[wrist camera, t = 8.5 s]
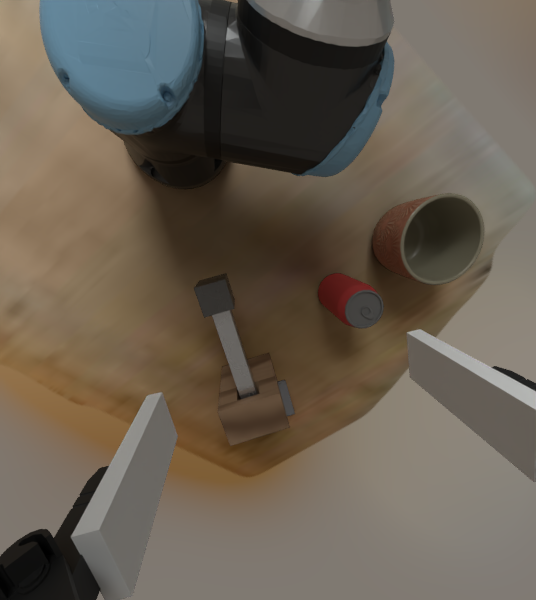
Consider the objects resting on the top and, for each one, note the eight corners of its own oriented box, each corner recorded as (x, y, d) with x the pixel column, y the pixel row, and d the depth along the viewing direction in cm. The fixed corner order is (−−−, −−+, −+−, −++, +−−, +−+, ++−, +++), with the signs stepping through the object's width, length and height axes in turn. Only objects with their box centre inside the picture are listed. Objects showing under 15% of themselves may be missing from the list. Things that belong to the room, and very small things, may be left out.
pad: (224, 397, 52) (224, 399, 52) (285, 379, 53) (285, 381, 52) (236, 429, 54) (236, 431, 54) (294, 411, 55) (294, 413, 54)
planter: (425, 273, 50) (475, 284, 40) (361, 273, 49) (395, 285, 39) (436, 202, 47) (493, 194, 37) (368, 200, 46) (407, 191, 36)
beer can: (332, 315, 50) (361, 341, 39) (309, 290, 49) (332, 309, 37) (359, 290, 50) (396, 309, 38) (337, 264, 48) (368, 276, 37)
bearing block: (222, 366, 51) (217, 412, 38) (268, 352, 51) (279, 393, 38) (231, 393, 52) (230, 445, 40) (277, 380, 53) (289, 427, 40)
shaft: (199, 280, 39) (193, 288, 34) (226, 272, 39) (225, 279, 34) (244, 413, 45) (245, 435, 40) (268, 406, 45) (272, 427, 40)
